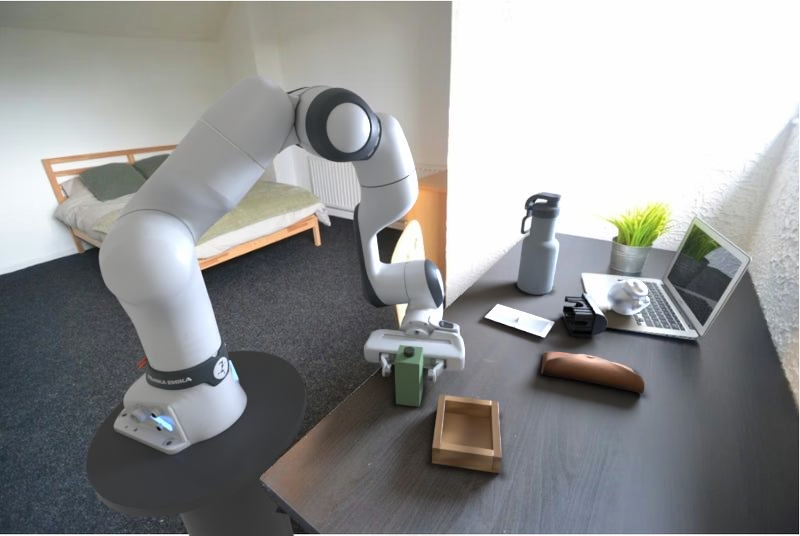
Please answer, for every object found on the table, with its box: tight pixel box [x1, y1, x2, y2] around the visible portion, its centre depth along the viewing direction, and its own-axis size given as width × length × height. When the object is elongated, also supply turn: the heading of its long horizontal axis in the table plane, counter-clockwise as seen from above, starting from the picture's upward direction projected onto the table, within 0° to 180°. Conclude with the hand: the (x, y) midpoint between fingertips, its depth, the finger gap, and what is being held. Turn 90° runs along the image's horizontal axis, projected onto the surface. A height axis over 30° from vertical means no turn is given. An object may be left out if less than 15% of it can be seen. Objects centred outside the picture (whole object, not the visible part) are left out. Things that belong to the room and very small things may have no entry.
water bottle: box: [516, 191, 562, 296], centre depth 104 cm, size 10×10×28 cm
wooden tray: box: [431, 393, 503, 474], centre depth 62 cm, size 10×11×4 cm
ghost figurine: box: [606, 278, 651, 316], centre depth 95 cm, size 9×10×10 cm
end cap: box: [562, 292, 609, 338], centre depth 90 cm, size 10×7×7 cm
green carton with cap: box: [394, 345, 424, 408], centre depth 70 cm, size 4×5×11 cm
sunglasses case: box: [540, 351, 645, 395], centre depth 75 cm, size 18×7×7 cm
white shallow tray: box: [484, 303, 556, 338], centre depth 93 cm, size 8×15×2 cm, turn 53°
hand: (408, 376), depth 69 cm, fingers open, 7 cm apart
